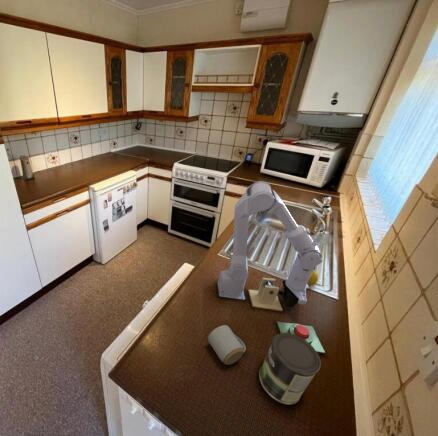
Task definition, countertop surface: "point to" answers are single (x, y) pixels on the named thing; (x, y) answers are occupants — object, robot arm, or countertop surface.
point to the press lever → (278, 291)
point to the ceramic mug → (226, 344)
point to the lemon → (313, 279)
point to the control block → (311, 338)
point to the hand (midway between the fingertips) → (287, 302)
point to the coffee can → (288, 368)
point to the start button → (301, 331)
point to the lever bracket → (266, 296)
